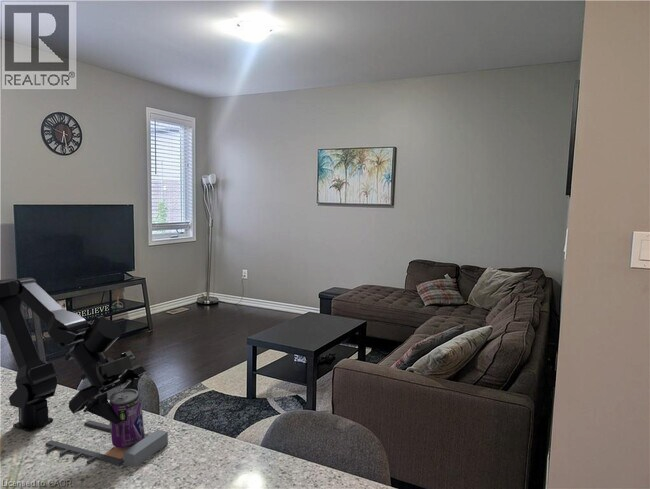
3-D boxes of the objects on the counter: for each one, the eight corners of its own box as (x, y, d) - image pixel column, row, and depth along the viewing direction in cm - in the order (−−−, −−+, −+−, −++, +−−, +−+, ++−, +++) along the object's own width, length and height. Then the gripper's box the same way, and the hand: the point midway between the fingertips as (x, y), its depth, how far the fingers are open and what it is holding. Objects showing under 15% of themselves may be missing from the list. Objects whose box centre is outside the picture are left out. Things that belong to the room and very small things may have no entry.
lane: (38, 449, 106) (37, 437, 106) (89, 422, 120) (89, 411, 119) (125, 474, 98) (125, 461, 97) (169, 442, 111) (169, 430, 111)
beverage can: (132, 452, 105) (127, 405, 102) (105, 448, 106) (100, 401, 104) (150, 434, 112) (146, 389, 109) (125, 430, 113) (120, 386, 111)
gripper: (78, 355, 98) (118, 415, 96) (140, 333, 116) (176, 383, 113) (51, 384, 102) (89, 442, 99) (115, 358, 119) (150, 407, 116)
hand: (129, 416), depth 107 cm, fingers closed on beverage can, 7 cm apart
